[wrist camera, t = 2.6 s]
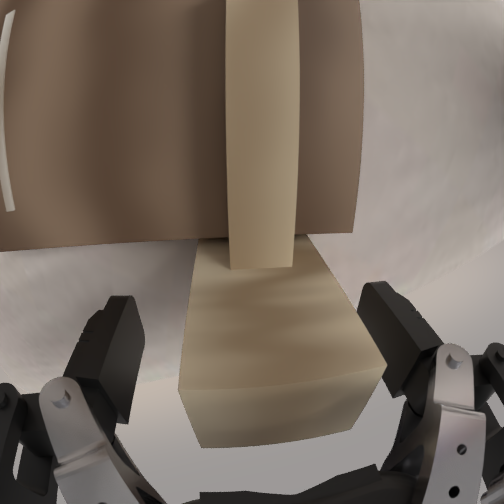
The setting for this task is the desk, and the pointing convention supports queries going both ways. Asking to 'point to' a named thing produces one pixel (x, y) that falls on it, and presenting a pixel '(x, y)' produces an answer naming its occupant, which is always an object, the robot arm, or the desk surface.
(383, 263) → the desk surface
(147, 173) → the walnut board
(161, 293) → the desk surface
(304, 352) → the marking gauge
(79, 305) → the desk surface
